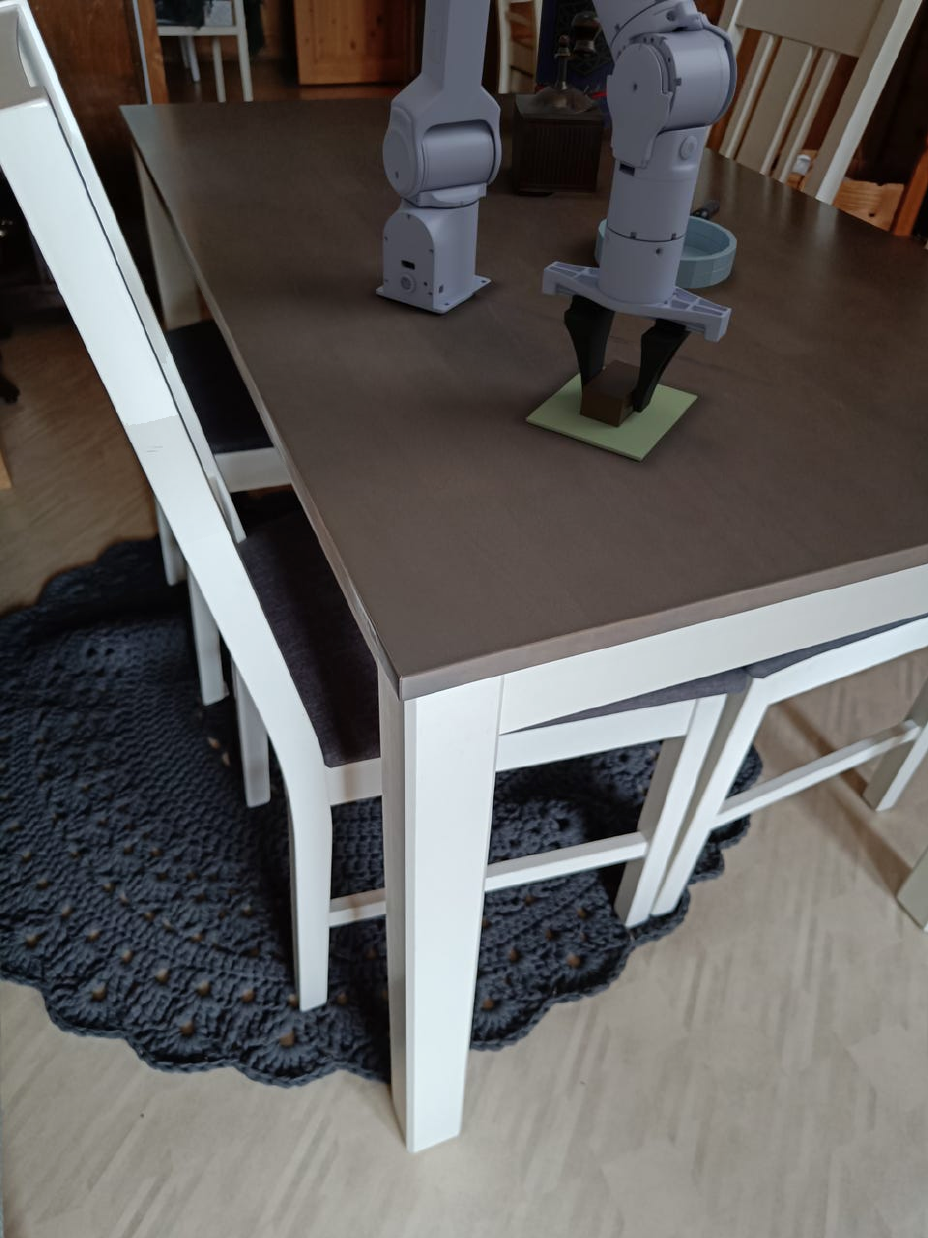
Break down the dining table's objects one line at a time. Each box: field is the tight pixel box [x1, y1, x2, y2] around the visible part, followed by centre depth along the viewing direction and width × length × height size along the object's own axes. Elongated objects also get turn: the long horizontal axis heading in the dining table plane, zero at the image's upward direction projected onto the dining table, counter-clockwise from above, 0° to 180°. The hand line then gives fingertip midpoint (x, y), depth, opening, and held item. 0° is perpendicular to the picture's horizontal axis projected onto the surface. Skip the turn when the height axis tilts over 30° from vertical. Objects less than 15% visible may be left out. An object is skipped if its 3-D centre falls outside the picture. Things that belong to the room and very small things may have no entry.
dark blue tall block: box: [533, 0, 615, 132], centre depth 128 cm, size 14×12×30 cm
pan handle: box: [690, 199, 721, 221], centre depth 104 cm, size 8×2×2 cm, turn 148°
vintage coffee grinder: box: [509, 11, 605, 197], centre depth 114 cm, size 16×11×18 cm
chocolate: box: [579, 359, 640, 427], centre depth 74 cm, size 6×4×2 cm, turn 148°
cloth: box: [525, 366, 698, 462], centre depth 74 cm, size 12×10×1 cm
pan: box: [593, 215, 738, 290], centre depth 97 cm, size 15×15×4 cm
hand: (615, 398), depth 74 cm, fingers open, 4 cm apart
